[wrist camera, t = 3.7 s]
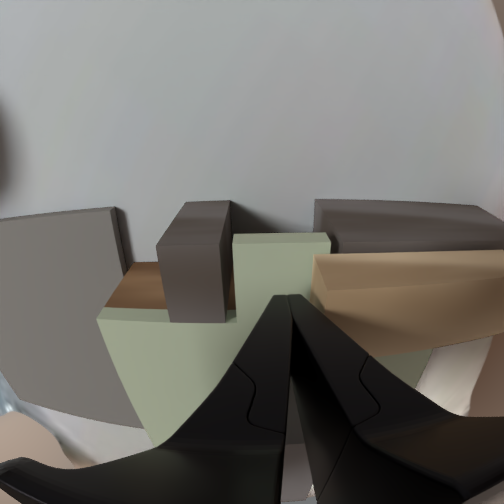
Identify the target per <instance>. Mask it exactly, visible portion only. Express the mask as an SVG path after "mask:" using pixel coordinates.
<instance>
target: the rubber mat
mask: <svg viewBox="0 0 504 504" xmlns="http://www.w3.org/2000/svg"><path fill="white" fill-rule="evenodd" d="M126 273H127V267H126V263H125V258H124V253H123V249H122V244H121V238H120V233H119V228H118V222H117V216H116V210H115V207H104V208H93V209H82V210H72V211H62V212H53V213H44V214H35V215H27V216H19V217H11V218H4V219H0V371H1V372H2V374H3V375H4V377H5V379H6V380H7V382H8V383H9V385H10V386H11V388H12V389H13V391H14V392H15V393H16V395H17V396H18V398H19V399H20V400H23V401H26V402H29V403H32V404H35V405H39V406H42V407H45V408H49V409H52V410H56V411H59V412H63V413H67V414H71V415H75V416H79V417H83V418H87V419H92V420H96V421H101V422H106V423H111V424H117V425H123V426H129V427H135V428H142V429H144V427H143V425H142V423H141V421H140V419H139V417H138V415H137V413H136V411H135V409H134V407H133V405H132V403H131V401H130V399H129V397H128V395H127V393H126V391H125V388H124V386H123V384H122V382H121V380H120V377H119V375H118V373H117V371H116V368H115V366H114V364H113V361H112V359H111V356H110V354H109V351H108V349H107V346H106V344H105V341H104V339H103V336H102V333H101V331H100V328H99V325H98V323H97V320H96V318H97V317H98V315H99V314H100V312H101V311H102V309H103V307H104V306H105V304H106V303H107V301H108V300H109V298H110V297H111V295H112V294H113V292H114V291H115V289H116V288H117V286H118V285H119V283H120V282H121V280H122V279H123V277H124V276H125V275H126Z"/></svg>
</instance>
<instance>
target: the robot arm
mask: <svg viewBox="0 0 504 504" xmlns="http://www.w3.org/2000/svg"><path fill="white" fill-rule="evenodd" d="M290 377H291V381H292V386H293V390H294V395H295V400H296V404H297V409H298V414H299V418H300V423H301V428H302V433H303V437H304V442H305V447H306V452H307V457H308V461H309V466H310V471H311V476H312V481H313V486H314V490H315V495H316V500H317V504H504V417H465V416H459V415H456V414H453V413H451V412H449V411H447V410H445V409H443V408H442V407H440V406H439V405H437V404H436V403H434V402H433V401H431V400H430V399H428V398H427V397H425V396H424V395H423V394H421V393H420V392H418V391H417V390H415V389H414V388H412V387H411V386H409V385H408V384H407V383H405V382H404V381H402V380H401V379H400V378H398V377H397V376H396V375H394V374H393V373H392V372H390V371H389V370H388V369H387V368H385V367H384V366H383V365H382V364H381V363H379V362H378V361H377V360H376V359H375V358H374V357H373V356H371V355H369V353H368V352H367V351H365V350H364V349H363V348H362V347H361V346H360V345H359V344H357V343H356V342H355V341H354V340H353V339H352V338H351V337H349V336H348V335H347V334H346V333H345V332H344V331H343V330H341V329H340V328H339V327H338V326H337V325H336V324H335V323H333V322H332V321H331V320H330V319H329V318H328V317H327V316H325V315H324V314H323V313H322V312H321V311H320V310H319V309H317V308H316V307H315V306H314V305H313V304H312V303H311V302H309V301H308V300H307V299H306V298H305V297H304V296H303V295H301V294H288V295H285V294H282V295H273V296H272V298H271V299H270V301H269V303H268V304H267V306H266V308H265V309H264V311H263V313H262V314H261V316H260V318H259V319H258V321H257V323H256V324H255V326H254V328H253V329H252V331H251V333H250V334H249V336H248V337H247V339H246V341H245V342H244V344H243V346H242V347H241V349H240V350H239V352H238V354H237V355H236V357H235V358H234V360H233V362H232V364H231V365H230V366H229V368H228V369H227V371H226V373H225V374H224V376H223V377H222V378H221V380H220V381H219V383H218V384H217V386H216V387H215V388H214V389H213V391H212V392H211V393H210V394H209V395H208V397H207V398H206V399H205V400H204V401H203V402H202V403H201V405H200V406H199V407H198V408H197V409H196V410H195V411H194V412H193V413H192V414H191V415H190V417H189V418H188V419H187V420H186V421H185V422H184V423H183V424H182V425H181V426H180V427H179V428H178V429H177V431H176V432H175V433H174V434H173V435H172V436H171V437H169V438H168V439H167V440H166V441H165V442H163V443H162V444H160V445H159V446H157V447H155V448H153V449H150V450H147V451H144V452H141V453H138V454H134V455H131V456H128V457H124V458H121V459H118V460H114V461H110V462H107V463H103V464H99V465H95V466H91V467H86V468H80V469H60V468H54V467H50V466H47V465H44V464H42V463H39V462H37V461H35V460H32V459H29V458H25V457H20V458H16V459H13V460H8V461H6V462H2V463H0V488H1V489H2V490H3V491H5V492H6V493H7V494H9V495H10V496H12V497H13V498H14V499H16V500H17V501H19V502H20V503H22V504H281V494H282V481H283V467H284V454H285V442H286V430H287V418H288V405H289V391H290Z"/></svg>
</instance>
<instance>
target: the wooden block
mask: <svg viewBox="0 0 504 504" xmlns="http://www.w3.org/2000/svg"><path fill="white" fill-rule="evenodd" d="M310 302H311V303H312V304H313V305H314V306H315V307H316V308H317V309H319V310H320V311H321V312H322V313H323V314H324V315H325V316H327V317H328V318H329V319H330V320H331V321H332V322H333V323H335V324H336V325H337V326H338V327H339V328H340V329H341V330H343V331H344V332H345V333H346V334H347V335H348V336H349V337H351V338H352V339H353V340H354V341H355V342H356V343H357V344H359V345H360V346H361V347H362V348H363V349H364V350H365V351H367V352H368V353H369V355H371V356H373V357H381V356H388V355H395V354H402V353H409V352H415V351H421V350H427V349H432V348H438V347H443V346H448V345H453V344H458V343H463V342H467V341H472V340H476V339H480V338H484V337H489V336H492V335H496V334H500V333H504V250H472V251H434V252H394V253H351V254H313V267H312V280H311V292H310Z"/></svg>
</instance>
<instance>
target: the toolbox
mask: <svg viewBox="0 0 504 504" xmlns="http://www.w3.org/2000/svg"><path fill="white" fill-rule="evenodd" d="M323 232H326V234H327V236H328V238H329V239H330V241H331V249H330V254H351V253H394V252H434V251H472V250H504V222H503V221H502V220H500V219H498V218H497V217H495V216H494V215H492V214H490V213H488V212H487V211H485V210H483V209H482V208H480V207H478V206H474V205H461V204H446V203H429V202H409V201H383V200H342V199H315V209H314V229H313V233H323ZM156 250H157V256H158V262H134V263H133V264H132V266H131V267H130V269H129V270H128V272H127V273H126V275H125V276H124V277H123V279H122V280H121V282H120V283H119V285H118V286H117V288H116V289H115V291H114V292H113V294H112V295H111V297H110V298H109V300H108V301H107V303H106V304H105V306H104V307H109V308H132V309H167V310H168V314H169V319H170V323H226V315H227V310H236V299H235V283H234V266H233V251H232V232H231V212H230V200H226V201H199V202H186V203H185V204H184V206H183V207H182V208H181V210H180V211H179V213H178V214H177V215H176V217H175V218H174V220H173V221H172V223H171V224H170V226H169V227H168V229H167V230H166V231H165V233H164V234H163V236H162V237H161V239H160V240H159V242H158V243H157V245H156Z"/></svg>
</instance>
